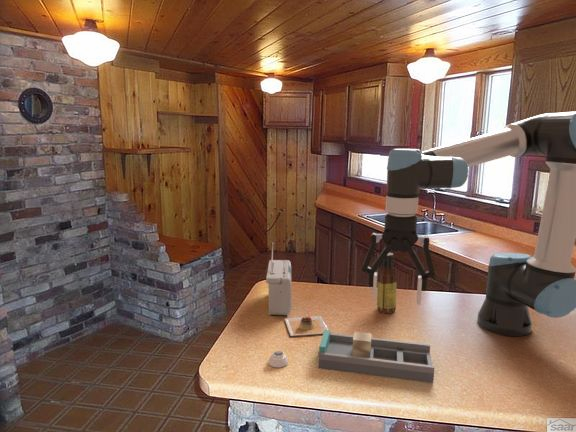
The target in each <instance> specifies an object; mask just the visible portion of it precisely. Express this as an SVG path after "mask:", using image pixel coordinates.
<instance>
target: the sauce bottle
mask: <svg viewBox="0 0 576 432" xmlns="http://www.w3.org/2000/svg"><path fill="white" fill-rule="evenodd" d="M394 256H395V255H394V253H393V252H391V251H390V252H389V253H388V254H387V256H386V257H385V259H384V260H383V261H382V263H381V264H380V268H378V271H377V285H376V300H377V301H376V305H377V311H378V312H381V313H383V314H393V313H395V312H396V310H397V309H396V308H397V274H396V272H395V269H394Z"/></svg>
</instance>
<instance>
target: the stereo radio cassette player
mask: <svg viewBox="0 0 576 432" xmlns="http://www.w3.org/2000/svg"><path fill="white" fill-rule="evenodd" d="M271 244H272V247H271V259H270V260H268V266H267V272H266V279H265V283H266V284H268V314H269V315H270V316H273V315H275V316H286V317H287V316H288V315H290V314H291V310H292V309H291V307H292V305H291V304H292V264H291V263H292V262H291V261H290V260H289V259H274V242H272V243H271Z"/></svg>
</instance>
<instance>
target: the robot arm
mask: <svg viewBox="0 0 576 432" xmlns="http://www.w3.org/2000/svg"><path fill="white" fill-rule="evenodd" d="M529 155H532V156H533V155H536V156H538V155H539V156H545V161H544V162H545V164H546V165H547V166H548V168H549V169H550V171H549V175H548V181H547V186H546V192H545V197H544V201H543V202H544V203H543V207H542V212H541V216H540V218H541V219H540V223H539V227H538V234H537V238H536V244H535V249H534V254H533V256H532V255H530V254H527V253H521V252H519V253H518V252H498V253H497V252H496V253H494V254H492V255H491V256H490V258H489V263H488V265H487V279H486V280H487V281H486V291H485V292H486V293H485V299H484V301H483V303H482V305H481V307H480V309H479V311H478V312H477V320H476V321H477V324H479V326H480V327H482V328H483V329H485V330H487V331H489V332H492V333H496V334H499V335H503V336H510V337H523V336H524V337H525V336H527V335H529V334H530V333H531V332H532V328H533V327H532V325H533V323H532V322H533V321H532V319H531V314H530V311H529V309H532V310H533V311H535V312H536V313H538V314H540V315H541V314H542V315H544V316H546V317H549V318H553V319H557V318H558V319H559V318H563V317H565V316H567V315H569V314H570V313H571V312H573V311H574V310H576V279H575V277H576V276H575V275H576V268H575V266H574V265H573V264H572V257H573V252H574V248H575V242H576V111H564V112H562V111H561V112H548V113H547V112H546V113H542V114H541V113H540V114H538V115H535V116H531V117H529V118H525V119H522V120H519V121H516V122H512V123H509V124H506V125H505V126H504V128H503V129H499V130H496V131H493V132H489V133H485V134H482V135H479V136H475V137H471V138H467V139H463V140H459V141H457V142H451V143H449V144H445V145H442V146H438V147H434V148H430V149H427V150H423V151H422V150H421V149H419V148H393V149H391V150H390V151H389V153H388V158H387V165H386V166H387V167H386V170H387V174H386V196H385V212H386V214H385V216H384V227H383V228H384V230H383V232H382V233H376V232H372V233H371V236H370V244H369V247H368V250H367V253H366V256H365V258H364V261H363V264H362V266H361V271H362V272H363V273H367V274H368V286H369V287H372V301H376V300H377V280H378V271H377V270H379V267H381V263H382V261H383V260H384V259H385V257H386V256H387V254H388V253H389V252H390V253H391V251H392V252H396V253H397V252H402V253H408V254H409V256H410V257H411V258H410V259H411V260H412V262H413V263H414V266H416V269H417V271H418V272H419V275H418V276H417V288H416V305H418V306H420V305H421V301H422V300H421V299H422V291H423V292H426V291H427V282H428V279H429V278H434V277H435V276H436V272H435V268H434V264H433V260H432V256H431V252H430V246H429V245H430V237H429V236H428V235H424V236H421V235H418V234H417V229H418V227H417V226H418V216H417V215H416V214H417V213H418V210H419V195H420V189H421V190H423V189H454V188H460V187H462V186H464V185H465V183H466V181H467V180H468V177H469V175H468V173H469V167H473V166H478V165H481V164H484V163H487V162H492V161H495V160H498V159H502V158H505V157H509V156H510V157H512V158H518V157H522V156H523V157H524V156H529ZM381 240H383V242H384V243H385V246H384V247H383V249H382V251H381V252H380V253H379V255H378V256H377V257H376V259H375V260H374V262H373V263H372V265H371V266H369V265H370V263H371V260H372V258H373V254H374V252H375V249H376V247H377V244H378V243H379V242H380V241H381ZM417 242H419V244H420V246H422V249H423V252H424V256H425V260H426V265H427V269H428V270H427V271H426V270H425V268H424V265H423V263H422V262H421V260H420V259H419V257H418V255H417V253H416V251H415V250H414V248H413V247H414V245H416V243H417ZM376 302H377V301H376Z"/></svg>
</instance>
